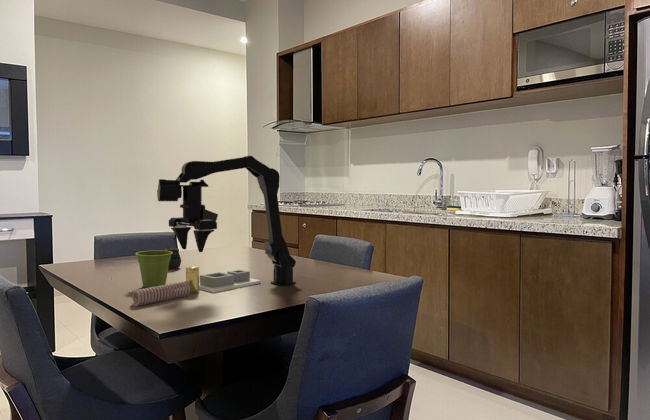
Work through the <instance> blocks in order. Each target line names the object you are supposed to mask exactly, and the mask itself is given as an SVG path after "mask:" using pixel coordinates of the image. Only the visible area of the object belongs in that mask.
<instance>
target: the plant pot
mask: <svg viewBox="0 0 650 420" xmlns="http://www.w3.org/2000/svg"><path fill="white" fill-rule="evenodd" d="M172 253H173V252H171V251H165V250H161V249H160V250H159V249H158V250H157V249H156V250H143V251H138V252H136V253H135V255H136V257H137V262H138V265H139V270H140V275H141V281H142V286H143V287H144V288H151V287H157V286H161V285H162V286H163V285H167V278H168V273H169V272H168V271H169V269H168V267H169V261H170V258H171V254H172Z"/></svg>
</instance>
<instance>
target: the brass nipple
mask: <svg viewBox="0 0 650 420" xmlns="http://www.w3.org/2000/svg"><path fill="white" fill-rule="evenodd" d="M185 281H186V282H188V284H189V286H190V292H189V295H195V294H199V293H200V289H199V283H200V267H199V266H197V265H195V266H192V265H191V266H186V267H185ZM186 286H187V285H186Z"/></svg>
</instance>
